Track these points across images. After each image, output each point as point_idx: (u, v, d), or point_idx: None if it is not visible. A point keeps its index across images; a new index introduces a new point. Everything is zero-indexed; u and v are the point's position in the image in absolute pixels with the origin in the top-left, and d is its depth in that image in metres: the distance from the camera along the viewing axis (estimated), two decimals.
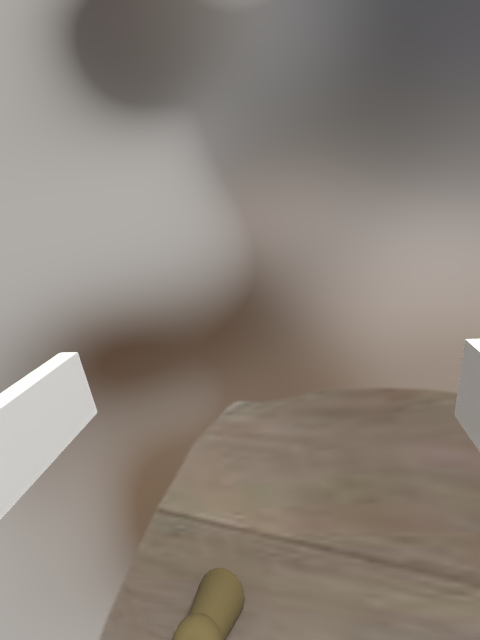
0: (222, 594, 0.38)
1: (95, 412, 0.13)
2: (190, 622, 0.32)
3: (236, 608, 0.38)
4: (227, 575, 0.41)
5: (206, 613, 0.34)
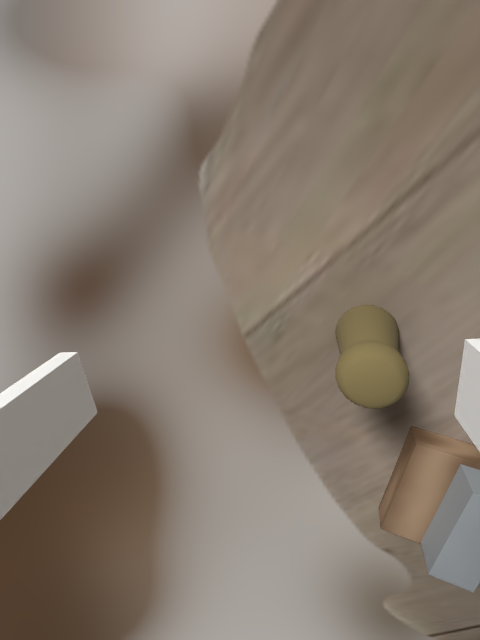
0: (359, 323, 0.29)
1: (95, 413, 0.13)
2: (341, 361, 0.24)
3: (386, 321, 0.29)
4: (353, 311, 0.32)
5: None
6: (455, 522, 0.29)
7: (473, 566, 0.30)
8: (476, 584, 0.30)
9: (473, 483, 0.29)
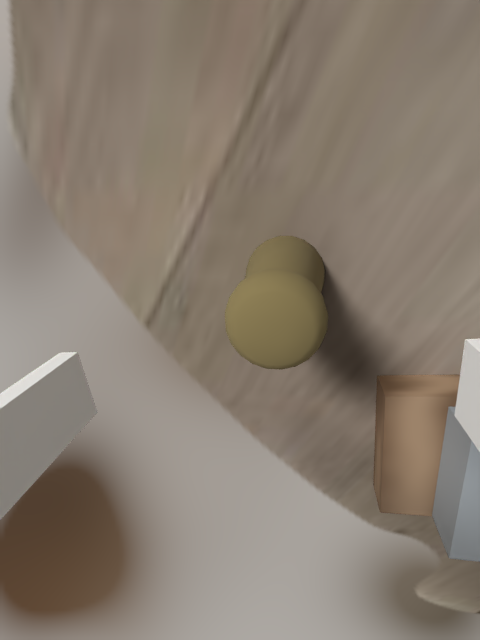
0: (259, 260, 0.21)
1: (96, 413, 0.13)
2: (225, 313, 0.16)
3: (295, 248, 0.21)
4: (256, 251, 0.24)
5: None
6: (461, 485, 0.22)
7: None
8: None
9: None
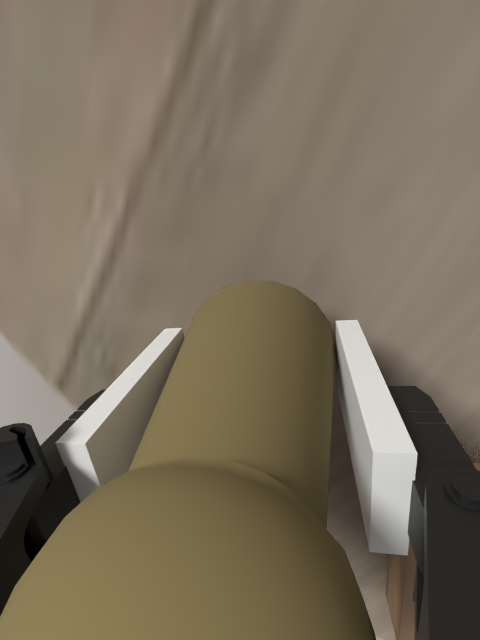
0: (191, 351, 0.09)
1: None
2: None
3: (275, 318, 0.10)
4: (201, 311, 0.12)
5: None
6: None
7: None
8: None
9: None
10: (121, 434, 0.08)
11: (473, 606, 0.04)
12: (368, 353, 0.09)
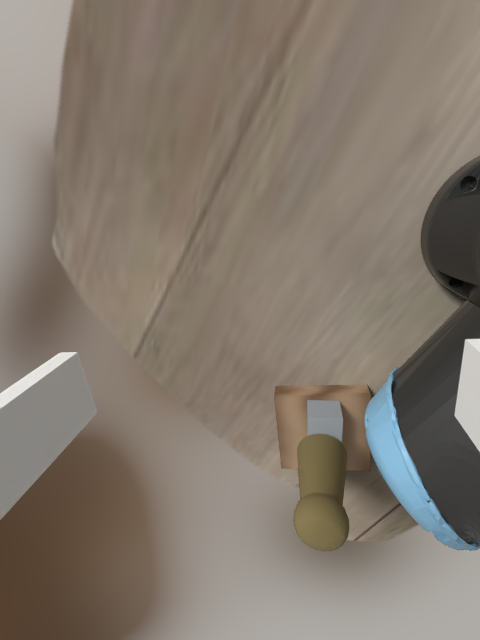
0: (307, 463, 0.36)
1: (96, 412, 0.13)
2: (294, 519, 0.31)
3: (328, 453, 0.36)
4: (304, 443, 0.39)
5: (304, 494, 0.33)
6: None
7: None
8: None
9: (311, 410, 0.39)
10: None
11: None
12: None
